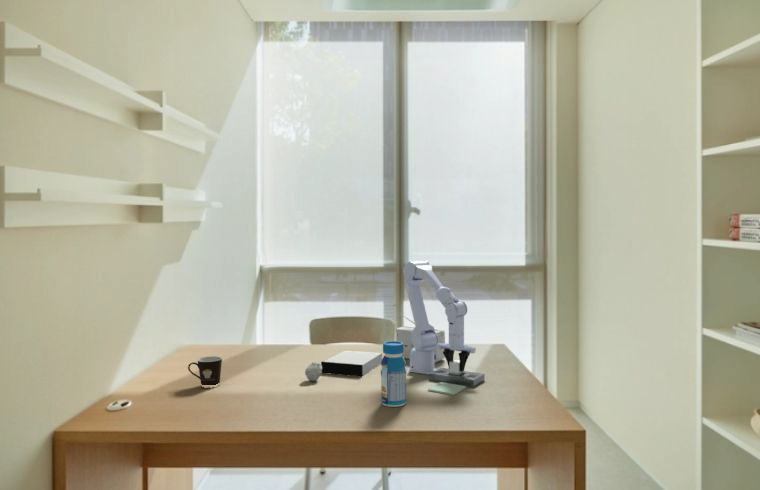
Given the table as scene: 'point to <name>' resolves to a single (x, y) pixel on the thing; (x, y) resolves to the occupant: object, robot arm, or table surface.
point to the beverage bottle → (393, 375)
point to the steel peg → (455, 368)
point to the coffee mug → (208, 370)
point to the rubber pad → (447, 388)
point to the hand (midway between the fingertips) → (456, 370)
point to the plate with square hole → (457, 377)
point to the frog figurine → (313, 371)
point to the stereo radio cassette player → (406, 338)
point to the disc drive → (352, 363)
